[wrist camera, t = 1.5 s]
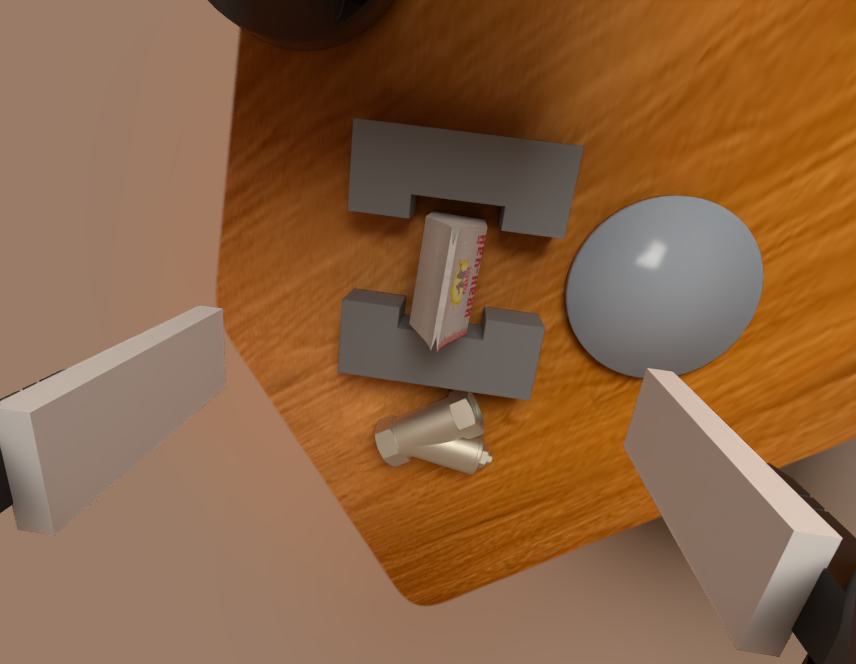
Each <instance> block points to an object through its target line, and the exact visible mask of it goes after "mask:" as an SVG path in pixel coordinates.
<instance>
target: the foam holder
mask: <svg viewBox="0 0 856 664" xmlns="http://www.w3.org/2000/svg"><path fill="white" fill-rule="evenodd" d="M583 149H584V146H579V145H571V144H563V143H555V142H546V141H538V140H530V139H522V138H514V137H505V136H497V135H489V134H481V133H473V132H464V131H456V130H448V129H440V128H432V127H423V126H415V125H407V124H399V123H391V122H382V121H374V120H366V119H358V118H353V132H352V148H351V165H350V181H349V197H348V211H356V212H363V213H371V214H378V215H386V216H394V217H401V218H410V217H412V216H414V215H415V209H416V199H417V195H420V196H428V197H436V198H443V199H451V200H459V201H467V202H475V203H482V204H490V205H498V206H501V212H500V218H499V224H498V226H499V228H500V229H501V231H508V232H515V233H523V234H531V235H538V236H546V237H554V238H561V239H564V238H565V233H566V228H567V224H568V219H569V214H570V210H571V205H572V200H573V196H574V191H575V186H576V182H577V177H578V172H579V168H580V163H581V158H582V154H583ZM405 302H406V296H405V295H398V294H391V293H383V292H376V291H369V290H362V289H355V288H354V289H353V290H352V291H351V292H350V293H349V294H348V295H347V296H346V297H345V298H343V299H342V311H341V327H340V343H339V359H338V372H339V373H346V374H352V375H359V376H366V377H373V378H379V379H386V380H393V381H400V382H406V383H413V384H420V385H427V386H434V387H440V388H447V389H454V390H461V391H467V392H474V393H481V394H488V395H494V396H501V397H508V398H515V399H522V400H528V401H530V397H531V392H532V388H533V383H534V378H535V374H536V369H537V364H538V360H539V355H540V350H541V346H542V341H543V336H544V332H545V327H544V325H543V323H542V321H541V319H540V317H539V315H538V314H534V313H527V312H520V311H513V310H506V309H498V308H491V307H485V308H484V315H483V321H482V325H475V324H468V328H467V333H466V335H464V336H462V337H460V338H457V339H455V340H453V341H451V342H449V343H447V344H446V345H444V346H443V347H441V348H440V349H439V350H438V352H437V336H436V339H435V341H434V344H433V346H432V349H431V351H430V348H429V346H428V344H427V343H426V342H425V340H424V339H423V338H422V337H421V336H420V335H419V334H418V333H417V332H416V330H415V329H414V328H413V327H412V326H411V325H410V324H409V322H410V316H411V315H404V311H405Z"/></svg>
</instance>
